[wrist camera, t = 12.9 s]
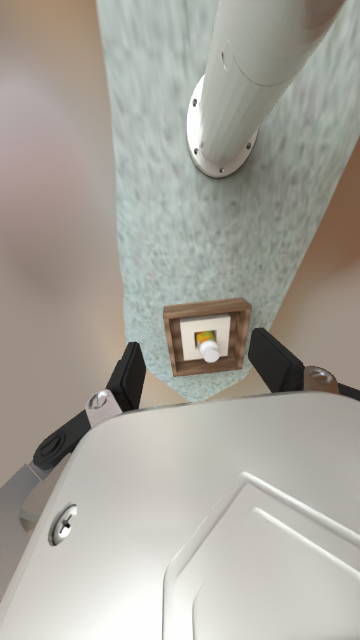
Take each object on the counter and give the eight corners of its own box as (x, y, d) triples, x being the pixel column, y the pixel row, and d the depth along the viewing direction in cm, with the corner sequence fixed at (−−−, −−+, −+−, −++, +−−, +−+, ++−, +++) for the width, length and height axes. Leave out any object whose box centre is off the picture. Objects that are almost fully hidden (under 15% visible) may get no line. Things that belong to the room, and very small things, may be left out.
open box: (164, 306, 40) (162, 315, 35) (240, 297, 40) (251, 305, 35) (173, 363, 50) (173, 376, 45) (234, 356, 50) (241, 369, 45)
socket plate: (179, 318, 41) (180, 322, 39) (227, 313, 41) (230, 316, 39) (183, 355, 48) (184, 360, 45) (224, 350, 48) (227, 355, 45)
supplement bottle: (213, 327, 43) (223, 348, 34) (211, 341, 46) (220, 364, 37) (195, 328, 43) (201, 348, 34) (194, 342, 45) (200, 365, 37)
